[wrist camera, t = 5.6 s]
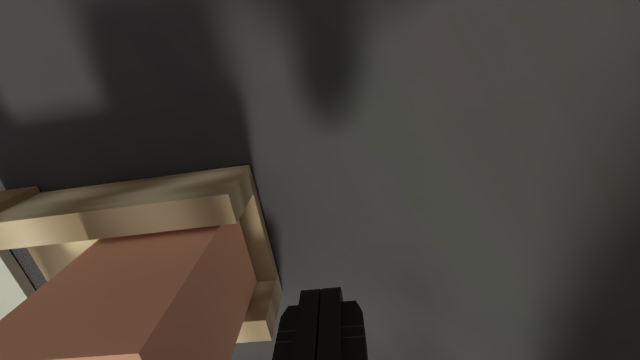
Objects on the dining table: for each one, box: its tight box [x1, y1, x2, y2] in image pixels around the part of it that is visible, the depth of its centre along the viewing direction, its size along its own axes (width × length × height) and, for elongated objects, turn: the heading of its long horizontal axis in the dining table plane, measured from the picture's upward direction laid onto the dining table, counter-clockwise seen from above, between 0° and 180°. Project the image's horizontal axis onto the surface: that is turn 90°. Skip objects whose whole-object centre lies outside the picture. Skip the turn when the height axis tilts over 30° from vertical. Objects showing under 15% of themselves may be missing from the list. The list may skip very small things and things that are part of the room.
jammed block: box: [0, 220, 257, 360], centre depth 14 cm, size 6×5×8 cm
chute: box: [0, 165, 282, 343], centre depth 16 cm, size 14×9×5 cm, turn 99°
